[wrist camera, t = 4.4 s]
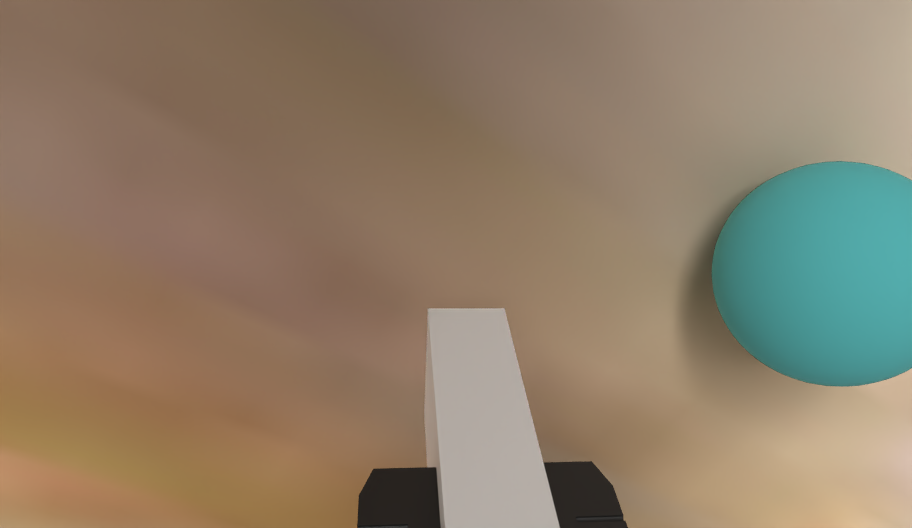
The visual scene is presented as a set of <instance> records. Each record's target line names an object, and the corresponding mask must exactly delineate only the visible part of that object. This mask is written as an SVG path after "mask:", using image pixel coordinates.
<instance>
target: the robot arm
mask: <svg viewBox="0 0 912 528" xmlns="http://www.w3.org/2000/svg"><path fill="white" fill-rule="evenodd" d="M424 420H425V438H426V455H427V468H388V469H373V471H372V473H371V475H370V476H369V478H368V480H367V482H366V484H365V485H364V487H363V489H362V491H361V493H360V494H359V505H358V524H357V528H628V527H627V524H626V522H625V521H624V520H623V513H622V510H621V507H620V505H619V502H618V499H617V496H616V493H615V491H614V488H613V486H612V484H611V483H610V482H609V481H608V480H607V479H606V478H605V476H604V475H603V474H602V473H601V472H600V471H599V469H598V468H597V467H596V466H595V465H594V464H593V463H592V461H591V462H551V463H543V459H542V455H541V451H540V447H539V443H538V439H537V435H536V431H535V427H534V423H533V420H532V416H531V412H530V408H529V404H528V400H527V396H526V392H525V388H524V384H523V380H522V376H521V372H520V368H519V364H518V360H517V356H516V352H515V348H514V344H513V340H512V336H511V332H510V328H509V325H508V321H507V317H506V313H505V309H504V308H428V319H427V348H426V377H425V406H424Z"/></svg>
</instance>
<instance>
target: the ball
mask: <svg viewBox="0 0 912 528" xmlns="http://www.w3.org/2000/svg"><path fill="white" fill-rule="evenodd" d="M712 284H713V293H714V296H715V300H716V303H717V306H718V309H719V312H720V314H721V316H722V318H723V320H724V322H725V324H726V325H727V327H728V329H729V330H730V332H731V333H732V334H733V336H734V337H735V338H736V340H737V341H738V342H739V343H740V344H741V345H742V346H743V347H744V348H745V349H746V350H747V351H748V352H749V353H750V354H751V355H753V356H754V357H755V358H756V359H757V360H759V361H760V362H762V363H763V364H765V365H766V366H768V367H770V368H772V369H773V370H775V371H777V372H779V373H781V374H784V375H786V376H789V377H791V378H794V379H797V380H800V381H804V382H807V383H813V384H818V385H825V386H859V385H865V384H870V383H875V382H879V381H882V380H886V379H889V378H892V377H895V376H897V375H899V374H901V373H904V372H906V371H907V370H909V369H911V368H912V181H911V180H910V179H908V178H906V177H904V176H902V175H900V174H898V173H895V172H893V171H890V170H888V169H884V168H881V167H878V166H874V165H869V164H865V163H856V162H844V161H837V162H822V163H815V164H810V165H805V166H802V167H798V168H795V169H792V170H789V171H787V172H784V173H782V174H780V175H777V176H775V177H773V178H772V179H770V180H768V181H766V182H765V183H763V184H762V185H760V186H759V187H757V188H756V189H755V190H753V191H752V192H751V193H750V194H748V195H747V196H746V197H745V198H744V199H743V200H742V201H741V202H740V203H739V204H738V206H737V207H736V208H735V209H734V211H733V212H732V213H731V215H730V216H729V218H728V219H727V221H726V223H725V225H724V227H723V229H722V231H721V233H720V235H719V237H718V240H717V243H716V246H715V250H714V255H713V261H712Z"/></svg>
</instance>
